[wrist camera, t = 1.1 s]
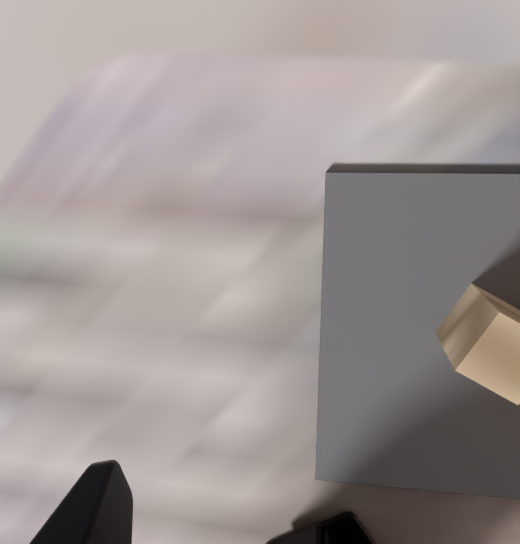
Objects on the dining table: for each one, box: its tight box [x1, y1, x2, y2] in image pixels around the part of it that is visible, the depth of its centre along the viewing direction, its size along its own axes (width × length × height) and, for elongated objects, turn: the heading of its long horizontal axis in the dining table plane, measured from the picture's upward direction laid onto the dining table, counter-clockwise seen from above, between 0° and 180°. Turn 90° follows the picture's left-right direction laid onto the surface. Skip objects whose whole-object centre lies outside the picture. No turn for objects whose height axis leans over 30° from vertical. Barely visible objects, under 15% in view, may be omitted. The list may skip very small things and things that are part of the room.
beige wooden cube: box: [435, 283, 520, 405], centre depth 22 cm, size 3×3×4 cm
